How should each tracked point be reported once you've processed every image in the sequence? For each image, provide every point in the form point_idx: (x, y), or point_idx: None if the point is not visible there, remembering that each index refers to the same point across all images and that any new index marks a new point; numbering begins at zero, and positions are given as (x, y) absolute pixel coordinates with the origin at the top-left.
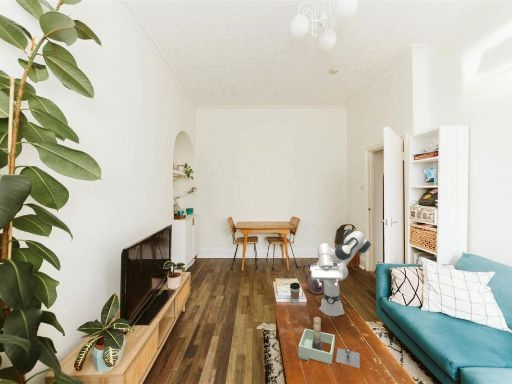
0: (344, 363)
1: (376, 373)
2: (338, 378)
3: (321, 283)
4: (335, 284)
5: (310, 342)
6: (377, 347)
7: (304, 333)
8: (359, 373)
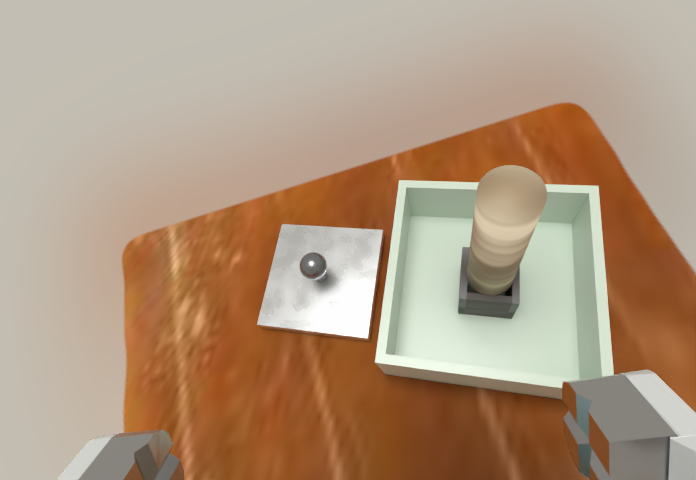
0: (343, 229)
1: (223, 235)
2: (377, 164)
3: (600, 425)
4: (111, 464)
5: (539, 355)
6: (148, 428)
7: (598, 322)
8: (290, 214)
